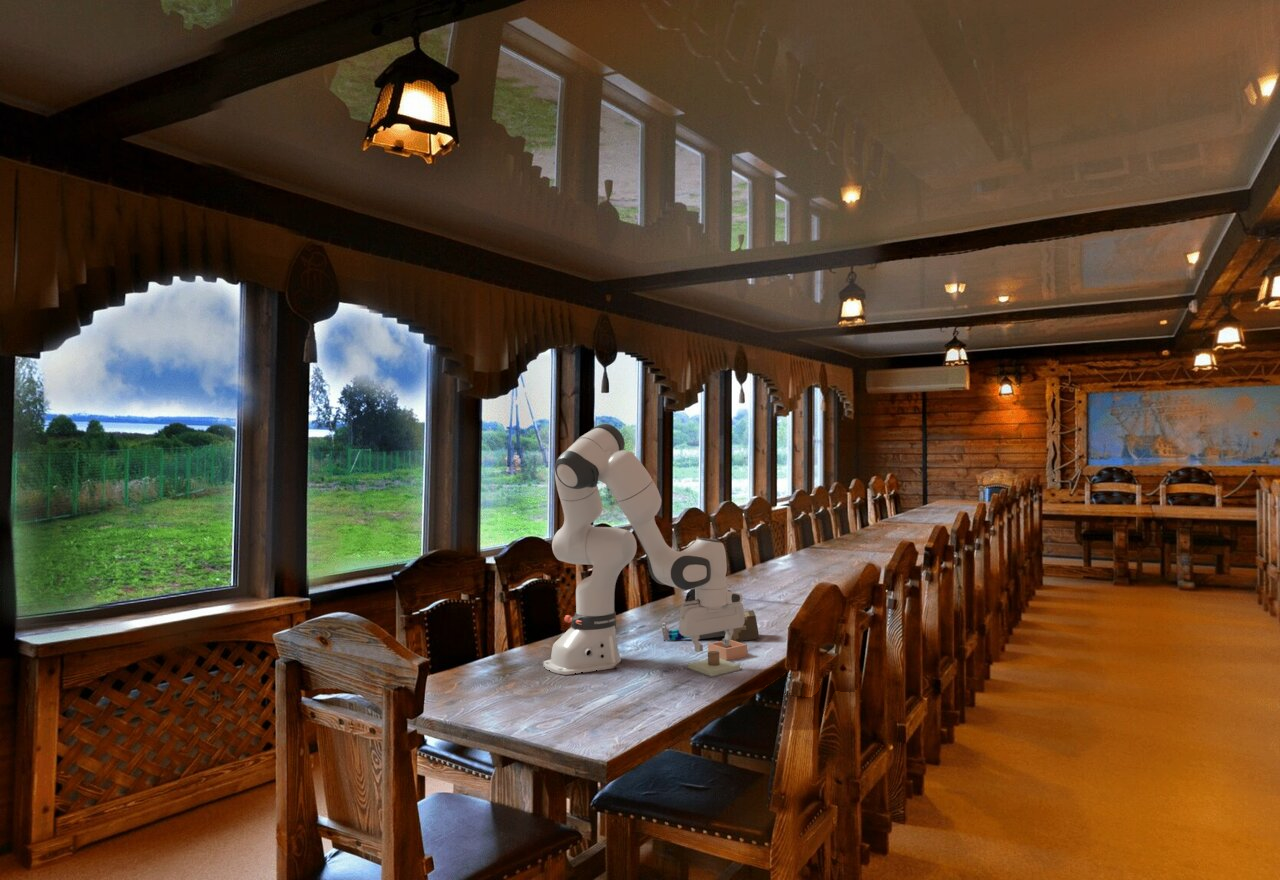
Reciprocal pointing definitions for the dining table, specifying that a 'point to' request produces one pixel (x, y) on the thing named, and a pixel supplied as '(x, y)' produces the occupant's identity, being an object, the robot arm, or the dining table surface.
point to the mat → (715, 675)
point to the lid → (713, 665)
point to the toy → (739, 634)
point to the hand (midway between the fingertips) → (712, 648)
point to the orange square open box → (729, 650)
